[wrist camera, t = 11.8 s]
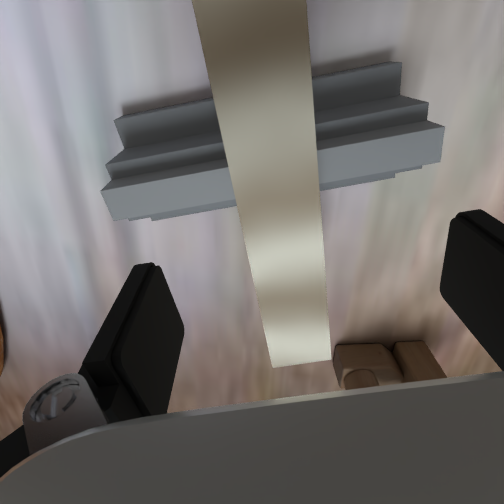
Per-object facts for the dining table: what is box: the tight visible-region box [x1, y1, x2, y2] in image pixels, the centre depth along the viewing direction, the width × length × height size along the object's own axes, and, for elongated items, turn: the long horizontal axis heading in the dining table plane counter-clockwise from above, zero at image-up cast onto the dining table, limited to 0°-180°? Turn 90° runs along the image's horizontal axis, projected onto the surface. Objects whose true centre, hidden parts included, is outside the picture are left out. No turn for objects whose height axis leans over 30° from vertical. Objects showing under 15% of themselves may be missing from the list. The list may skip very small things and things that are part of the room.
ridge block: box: [100, 62, 445, 221], centre depth 22 cm, size 20×8×8 cm, turn 100°
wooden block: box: [333, 341, 447, 390], centre depth 32 cm, size 4×11×18 cm, turn 92°
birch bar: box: [192, 0, 331, 368], centre depth 17 cm, size 24×4×4 cm, turn 10°
